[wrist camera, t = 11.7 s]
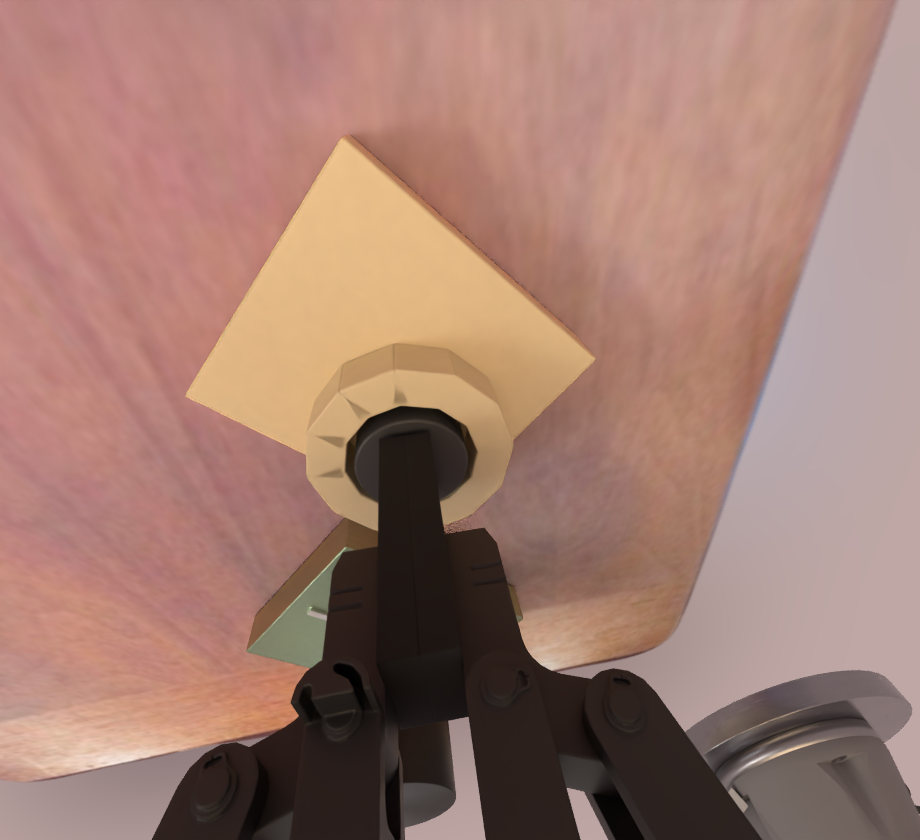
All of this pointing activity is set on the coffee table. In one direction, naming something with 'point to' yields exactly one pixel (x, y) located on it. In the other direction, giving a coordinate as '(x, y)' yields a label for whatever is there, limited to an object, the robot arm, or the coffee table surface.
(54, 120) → the coffee table surface
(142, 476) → the coffee table surface
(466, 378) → the button box
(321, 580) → the dial panel
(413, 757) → the knob
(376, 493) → the button
